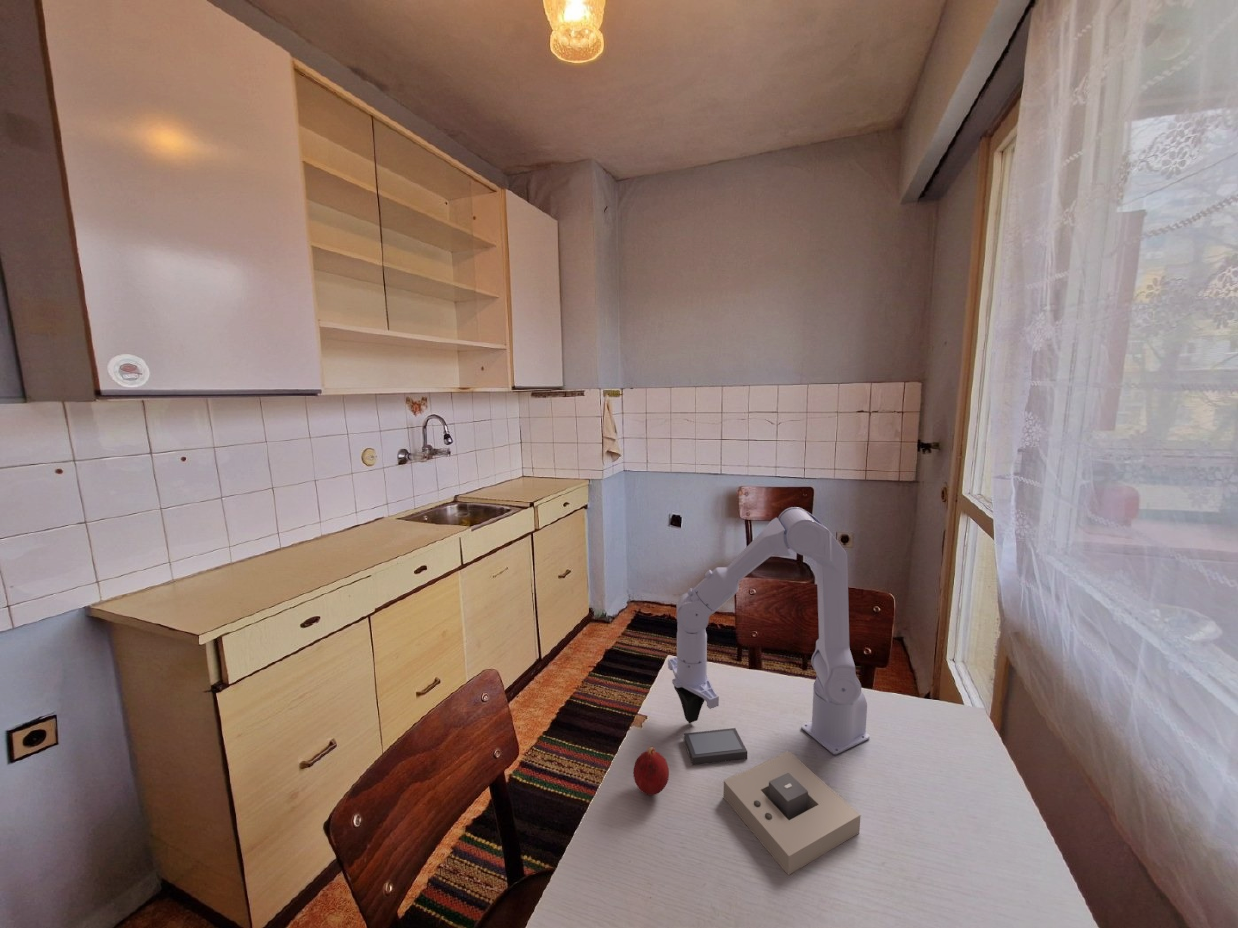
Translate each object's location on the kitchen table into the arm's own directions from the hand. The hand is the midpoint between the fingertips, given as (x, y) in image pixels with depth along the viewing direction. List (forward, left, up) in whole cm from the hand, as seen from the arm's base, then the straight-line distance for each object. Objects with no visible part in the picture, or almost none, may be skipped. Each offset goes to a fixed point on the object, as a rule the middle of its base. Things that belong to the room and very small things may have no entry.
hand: (691, 719), depth 93 cm
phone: (0, +7, -2) cm, 8 cm away
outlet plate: (-2, +23, -1) cm, 24 cm away
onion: (+15, +10, -1) cm, 18 cm away
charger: (-2, +23, -1) cm, 24 cm away
